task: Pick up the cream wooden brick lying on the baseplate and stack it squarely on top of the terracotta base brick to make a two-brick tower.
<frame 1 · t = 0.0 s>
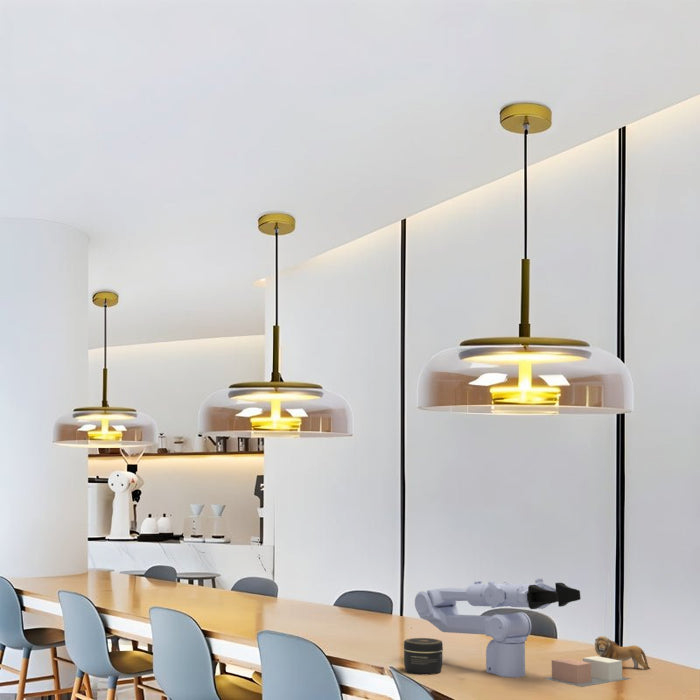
hand: (568, 596, 233), 22 cm above the table, tool horizontal, fingers open, 7 cm apart
cream brick: (602, 677, 244), point 1 cm above the table, touching baseplate
baseplate: (587, 682, 242), on the table
lion figurine: (622, 673, 255), on the table
terracotta brick: (571, 679, 240), point 1 cm above the table, touching baseplate
jar: (423, 672, 254), on the table
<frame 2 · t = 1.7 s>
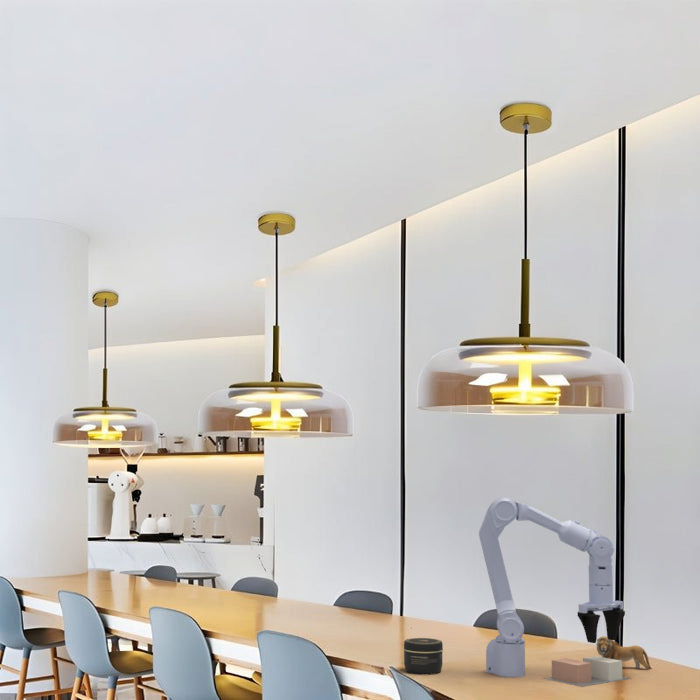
hand: (602, 641, 245), 10 cm above the table, tool pointing down, fingers open, 7 cm apart
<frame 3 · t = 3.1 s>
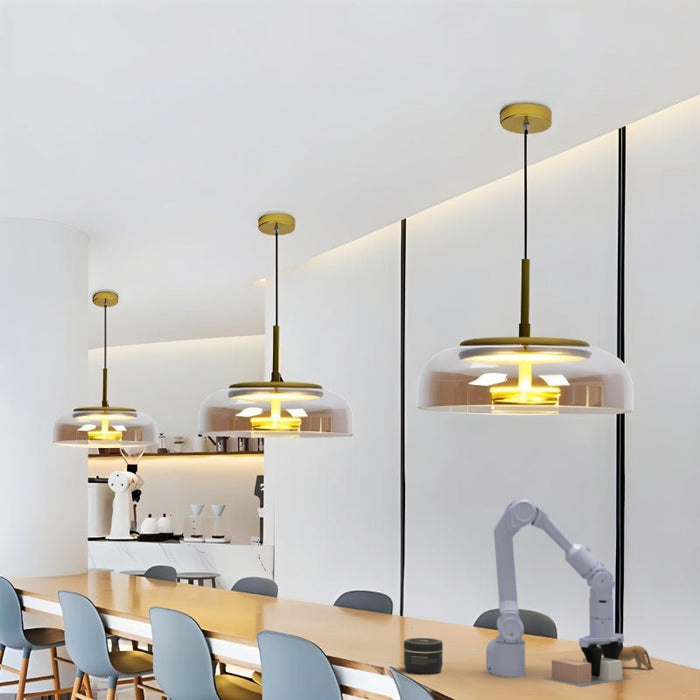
hand: (602, 674, 244), 2 cm above the table, tool pointing down, fingers closed on cream brick, 5 cm apart
cream brick: (602, 677, 244), point 1 cm above the table, touching baseplate, gripper
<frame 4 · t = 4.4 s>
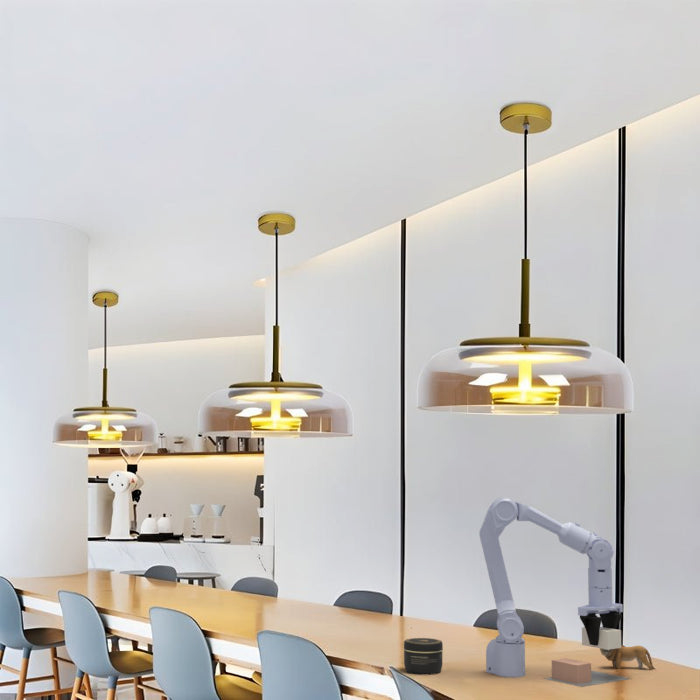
hand: (601, 644, 245), 9 cm above the table, tool pointing down, fingers closed on cream brick, 5 cm apart
cream brick: (601, 646, 244), point 8 cm above the table, touching gripper
when the fingers open (7 cm above the table, at t = 5.9 s): cream brick stays where it is, resting on terracotta brick.
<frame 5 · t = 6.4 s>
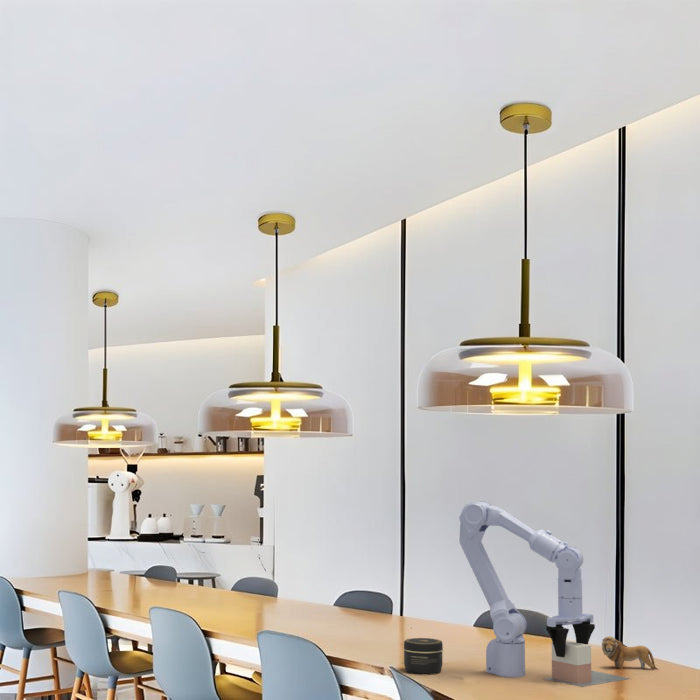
hand: (571, 655, 241), 7 cm above the table, tool pointing down, fingers open, 7 cm apart
cream brick: (571, 661, 240), point 5 cm above the table, touching terracotta brick
terracotta brick: (571, 679, 240), point 1 cm above the table, touching baseplate, cream brick
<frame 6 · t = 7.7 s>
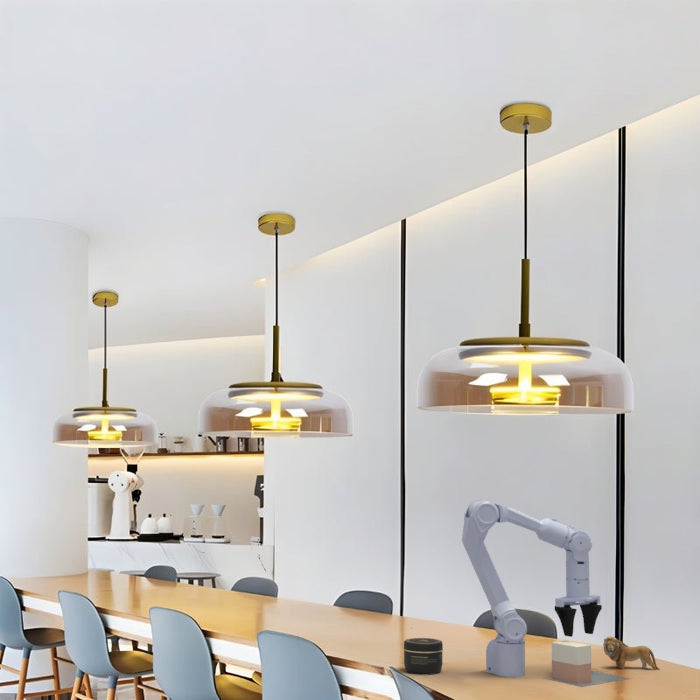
hand: (578, 634, 249), 10 cm above the table, tool pointing down, fingers open, 7 cm apart
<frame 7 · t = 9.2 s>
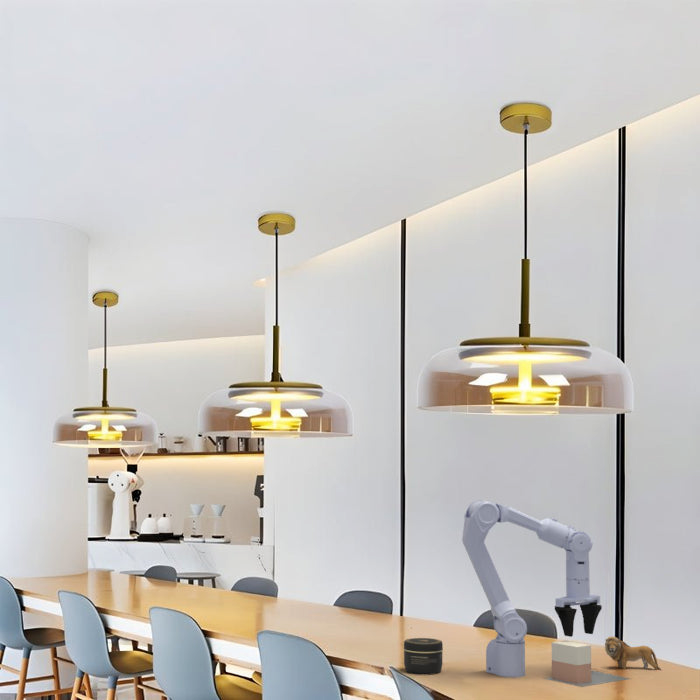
hand: (578, 634, 249), 10 cm above the table, tool pointing down, fingers open, 7 cm apart
at the end: cream brick 0.1 cm off-centre on the terracotta brick, point 4.2 cm above the terracotta brick's base; cream brick tilted 0°; the gripper is holding nothing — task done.
